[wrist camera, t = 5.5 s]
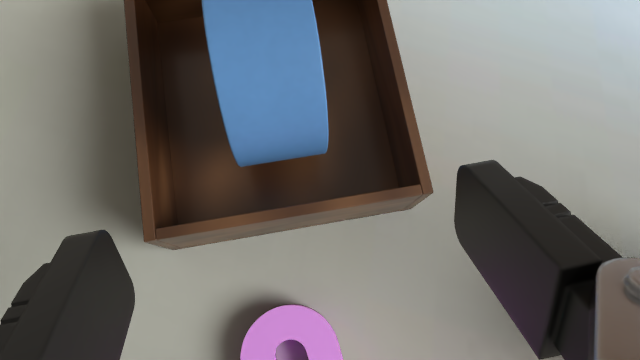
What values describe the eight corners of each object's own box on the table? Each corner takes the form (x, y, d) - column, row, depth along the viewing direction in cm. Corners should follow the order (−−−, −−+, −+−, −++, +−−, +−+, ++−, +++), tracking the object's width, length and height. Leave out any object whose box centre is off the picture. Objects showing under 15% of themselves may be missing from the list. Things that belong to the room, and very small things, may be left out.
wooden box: (172, 250, 27) (143, 242, 22) (150, 20, 30) (120, -30, 26) (411, 209, 28) (433, 192, 23) (361, -8, 32) (372, -61, 27)
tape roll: (248, 186, 27) (216, 129, 17) (228, 45, 30) (190, -75, 20) (324, 174, 28) (335, 111, 18) (298, 36, 30) (295, -88, 20)
